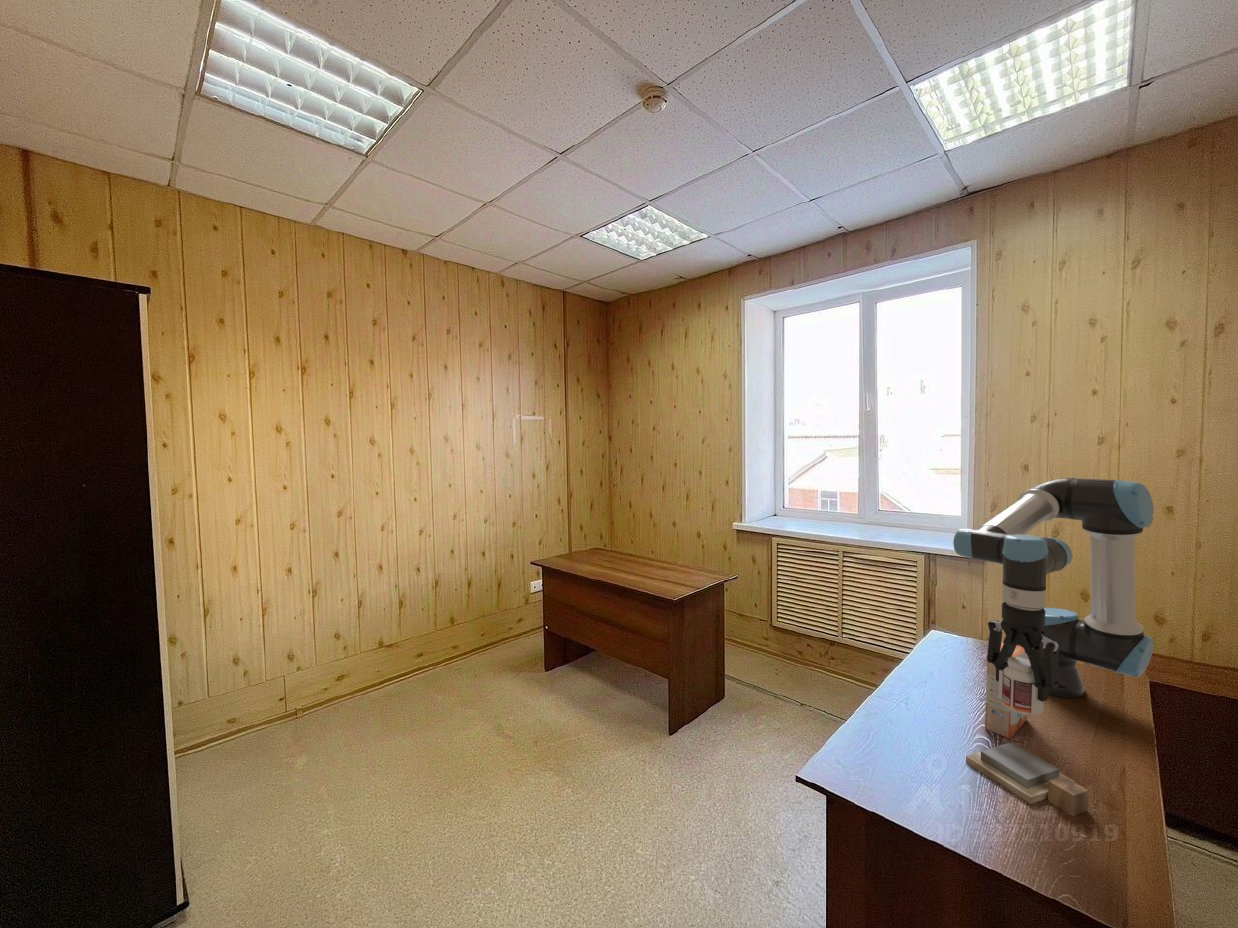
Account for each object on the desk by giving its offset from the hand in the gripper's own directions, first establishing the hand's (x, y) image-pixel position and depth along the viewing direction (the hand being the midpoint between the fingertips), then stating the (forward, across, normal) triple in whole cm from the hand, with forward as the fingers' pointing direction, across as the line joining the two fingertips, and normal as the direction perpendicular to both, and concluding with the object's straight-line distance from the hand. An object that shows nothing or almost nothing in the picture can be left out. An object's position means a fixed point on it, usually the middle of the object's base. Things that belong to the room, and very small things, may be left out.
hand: (1020, 704), depth 110 cm
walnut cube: (+15, +7, 0) cm, 16 cm away
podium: (+17, 0, 0) cm, 17 cm away
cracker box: (+17, -14, +17) cm, 28 cm away
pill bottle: (+1, 0, 0) cm, 1 cm away
